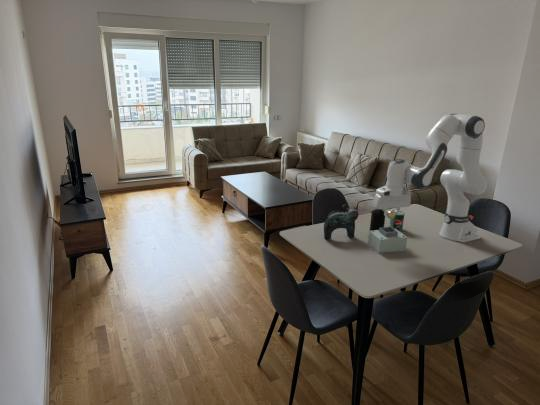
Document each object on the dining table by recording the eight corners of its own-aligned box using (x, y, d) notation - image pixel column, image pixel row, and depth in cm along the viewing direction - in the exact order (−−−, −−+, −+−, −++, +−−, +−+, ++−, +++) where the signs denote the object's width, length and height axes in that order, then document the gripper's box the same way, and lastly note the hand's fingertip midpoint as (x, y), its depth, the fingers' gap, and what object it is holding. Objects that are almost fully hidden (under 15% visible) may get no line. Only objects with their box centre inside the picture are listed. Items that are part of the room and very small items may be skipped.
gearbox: (393, 241, 214) (395, 224, 210) (405, 250, 203) (408, 232, 199) (367, 243, 210) (369, 226, 207) (378, 253, 199) (380, 235, 196)
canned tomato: (393, 225, 236) (395, 209, 233) (404, 229, 231) (407, 212, 227) (386, 228, 231) (388, 212, 227) (398, 232, 226) (400, 215, 222)
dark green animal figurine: (353, 234, 223) (356, 202, 216) (358, 238, 217) (361, 205, 210) (321, 236, 218) (324, 204, 212) (326, 241, 212) (328, 208, 206)
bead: (391, 216, 203) (392, 209, 202) (395, 219, 199) (396, 212, 198) (384, 217, 202) (385, 210, 201) (388, 219, 198) (389, 212, 197)
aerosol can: (383, 242, 213) (387, 208, 206) (368, 240, 214) (372, 207, 208) (382, 236, 220) (386, 204, 214) (367, 234, 222) (371, 202, 215)
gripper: (408, 187, 201) (404, 211, 205) (373, 189, 196) (370, 214, 201) (415, 191, 195) (411, 216, 200) (379, 193, 190) (376, 218, 195)
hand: (390, 215), depth 200 cm, fingers closed on bead, 4 cm apart
